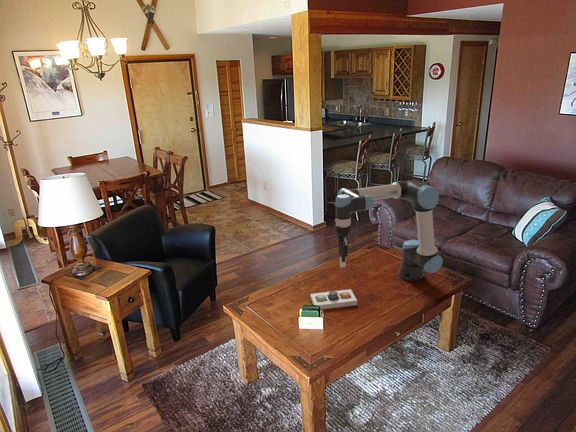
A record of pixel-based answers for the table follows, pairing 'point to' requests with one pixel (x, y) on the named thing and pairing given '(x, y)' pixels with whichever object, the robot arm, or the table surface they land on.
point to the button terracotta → (345, 295)
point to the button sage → (321, 298)
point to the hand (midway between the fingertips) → (342, 266)
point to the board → (334, 303)
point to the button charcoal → (333, 295)
